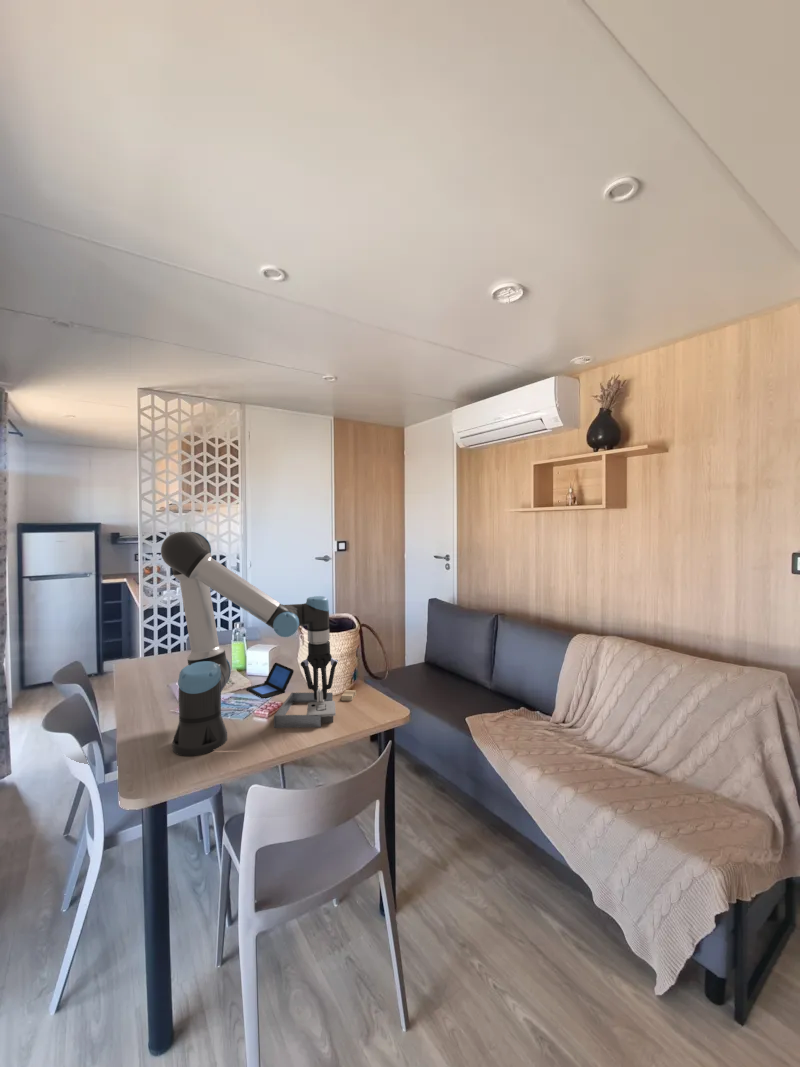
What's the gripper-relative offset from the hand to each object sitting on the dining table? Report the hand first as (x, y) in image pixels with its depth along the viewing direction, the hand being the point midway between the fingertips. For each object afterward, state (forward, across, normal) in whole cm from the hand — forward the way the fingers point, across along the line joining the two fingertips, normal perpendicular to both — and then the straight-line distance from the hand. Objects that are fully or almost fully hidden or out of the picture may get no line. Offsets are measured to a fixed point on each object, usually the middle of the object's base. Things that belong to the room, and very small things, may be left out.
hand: (320, 708), depth 158 cm
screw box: (+3, -8, -13) cm, 15 cm away
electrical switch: (+2, +3, +6) cm, 7 cm away
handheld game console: (+3, +25, -23) cm, 34 cm away
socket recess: (+2, +5, +1) cm, 5 cm away
